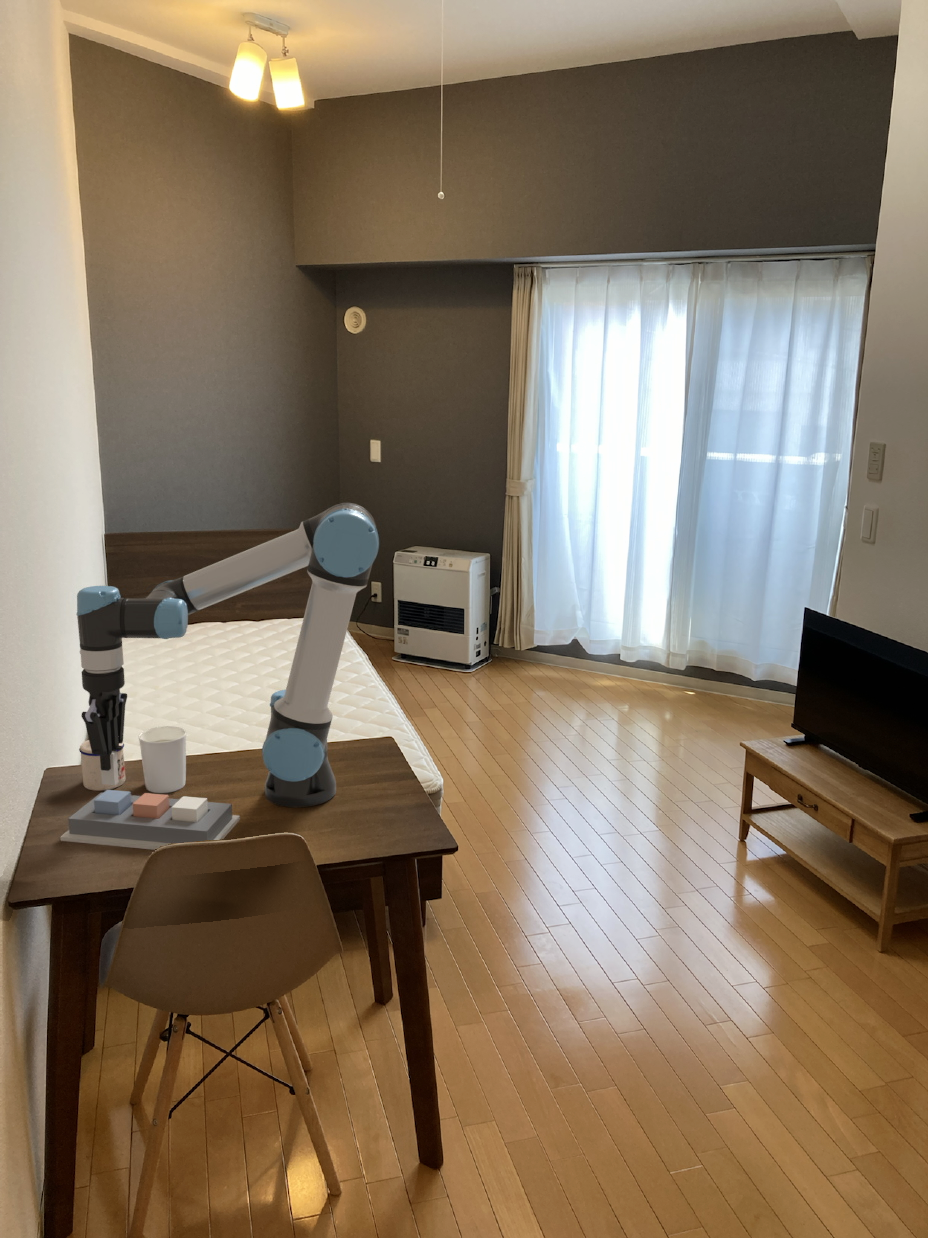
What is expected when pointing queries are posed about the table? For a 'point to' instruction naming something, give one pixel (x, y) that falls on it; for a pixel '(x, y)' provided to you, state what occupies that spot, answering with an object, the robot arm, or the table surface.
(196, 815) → the white key
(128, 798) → the blue key
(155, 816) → the terracotta key
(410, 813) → the table surface
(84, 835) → the key console
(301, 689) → the robot arm
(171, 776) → the candle holder
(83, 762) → the teacup with lid
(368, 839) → the table surface
